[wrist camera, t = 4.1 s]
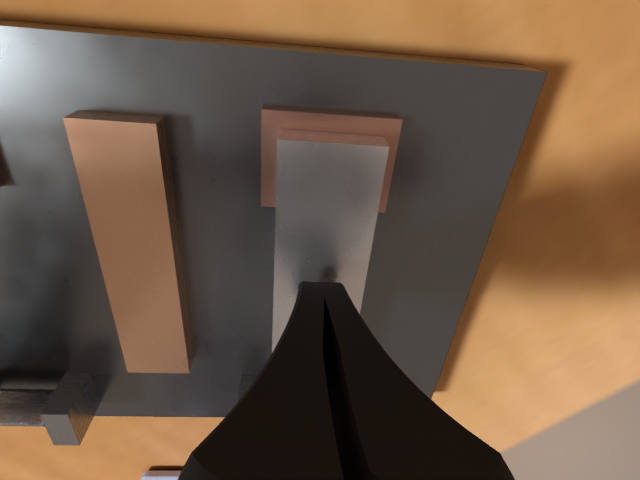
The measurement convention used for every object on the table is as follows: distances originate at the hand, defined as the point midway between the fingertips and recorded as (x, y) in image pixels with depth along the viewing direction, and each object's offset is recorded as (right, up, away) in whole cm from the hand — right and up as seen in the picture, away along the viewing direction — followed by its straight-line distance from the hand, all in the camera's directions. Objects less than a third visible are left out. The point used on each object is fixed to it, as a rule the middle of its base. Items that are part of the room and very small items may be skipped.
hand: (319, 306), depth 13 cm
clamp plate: (-6, +1, +3) cm, 7 cm away
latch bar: (0, 0, +2) cm, 2 cm away
